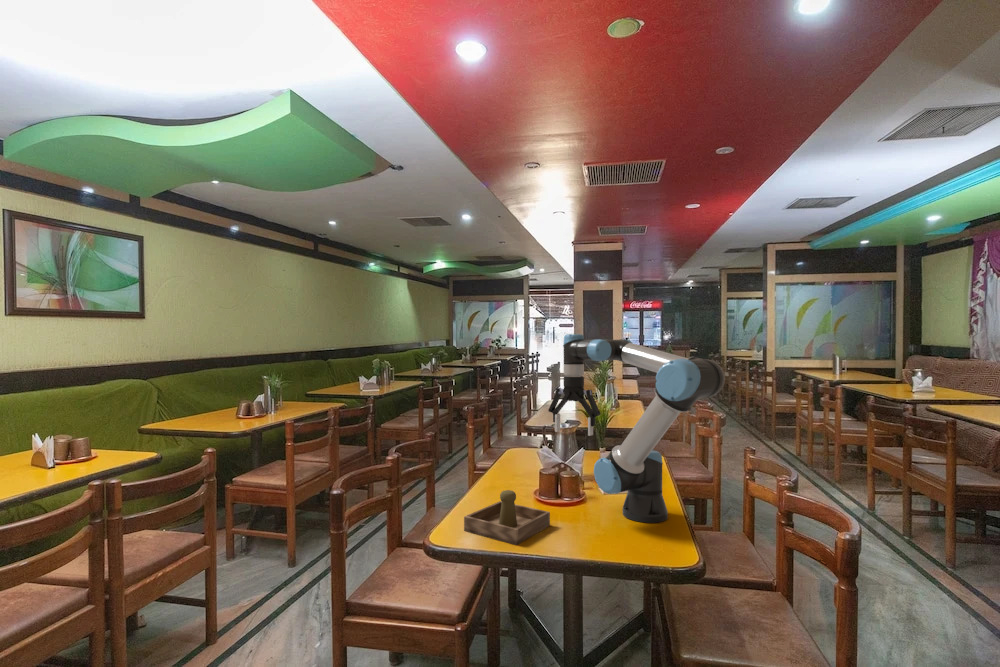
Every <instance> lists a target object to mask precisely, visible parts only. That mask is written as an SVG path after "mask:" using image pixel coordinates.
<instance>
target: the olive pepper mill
mask: <svg viewBox="0 0 1000 667" xmlns="http://www.w3.org/2000/svg"><path fill="white" fill-rule="evenodd" d="M499 494H500V495H499V498H500V501H502V504H501V511H500V519H499V524H500V525H504V526H508V527H512V528H515V527H517V519H516V511H515V504H516V503H515V501H516V500H517V494H516V492H515V491H514V490H510V489H506V490H503V491H501V493H499Z"/></svg>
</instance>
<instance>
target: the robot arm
mask: <svg viewBox="0 0 1000 667" xmlns="http://www.w3.org/2000/svg"><path fill="white" fill-rule="evenodd" d="M562 347H563V375H564V376H563V388H562V387H557V388H555V394H554V396H553V398H552V400H551V403H550V406H549V408H548V412H549V413H552V421H553V423H554V432H555V433H558V432H561V413H560V411H561V410H562V409H563V408H564V406H565V405H566V403H567V402H578V403H579V404H580V405H581V406H582V407H583V408H584V410H585V412H586V413H587V414H588V416H589V417H587V436H589V437H592V436H593V435H594V427H595V426H596V418H597V417H599V416H601V411H600V410H599V407H598V404H597V401H596V400H595V398H594V396H593V390H592V389H585V377H584V376H583V375H585V361H594V362H603V361H604V362H605V361H618V362H621V363H625V364H628V365H631V366H635V367H638V368H641V369H643V370H648V371H650V372H653V373H656V375H655V380H656V382H655V387H654V393H655V397H654V398H653V399H652V400H651V402H650V403H649V404H648V406H647V408H646V409H645V410H644V412H643V413H642V415H641V416H640V418H639V419H638V421H637V422H636V423H635V425H634V426H633V428H632V429H631V430H630V432H629V433H628V434H627V436H626V438H625V439H624V440H623V442H622V443H621V444H618V445H615V446H614V447H612V448H611V451H610V452H609V453H608V455H607V456H606V457H601V458H598V459H597V460H596V462H595V463H594V465H593V466H594V467H593V474H594V480H595V482H596V484H597V486H598V487H599V488H600V490H601V491H603V492H604V493H605V494H610V495H613V494H615V495H616V494H620V493H623V492H627V493H626V496H625V499H624V501H623V502H624V503H623V505H622V515H623V517H625V518H627V519H628V520H631V521H635V522H640V523H648V524H649V523H650V524H651V523H653V524H655V523H662V522H665V521H666V520H668V518H669V517H668V516H669V513H668V512H669V511H668V509H667V505H666V503H665V498H664V496H663V457H662V456H663V455H662V453H661V452H659V451H658V450H655V449H654V448H656V446H657V445H658V443H659V442H660V440H662V438H663V437H664V436H665V434H666V432H668V429H669V428H670V427H671V426H672V425H673V423H674V422H675V421H676V420H677V418H678V416H680V414H681V413H687V412H689V411H690V410H691V408H692V407H693V406H694V405H695V404H696V402H697V401H698V400H699V399H704V398H707V399H708V398H711V397H714V396H716V395H718V393H719V392H721V390H722V389H723V388H724V385H725V382H726V381H725V380H726V379H725V378H726V377H725V376H726V375H725V372H724V370H723V368H722V367H721V366H720V364H718V363H717V362H716V361H714V360H712V359H706V358H705V359H704V358H700V357H697V356H690V357H688V358H687V357H684V356H680V355H677V354H673V353H670V352H666V351H663V350H659V349H655V348H651V347H647V346H644V345H640V344H636V343H633V342H632V341H631V340H629V339H602V338H601V339H600V338H596V339H585V336H584V334H582V333H581V334H580V333H576V334H575V333H573V334H572V333H571V334H568V333H567V334H564V336H563V345H562ZM562 394H564V396H563V397H562V399H561V400H560V398H561V396H562ZM584 395H585V396H586V398H587V399H586V398H585V397H584ZM586 400H587V401H586Z"/></svg>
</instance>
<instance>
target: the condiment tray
mask: <svg viewBox="0 0 1000 667" xmlns="http://www.w3.org/2000/svg"><path fill="white" fill-rule="evenodd" d="M501 504H502V501H501V500H500V501H498V502H494V503H492V504H490V505H488V506H486V507H483V508H481V509H479V510H477V511H473V512H471V513H470V514H467V515H465V516H464V517H463V531H464V532H468V533H470V534H474V535H478V536H481V537H485V538H488V539H491V540H496V541H498V542H499V541H500V542H503V543H507V544H509V545H510V544H511V545H514V546H517V545H520V544H521V543H523V542H525V541H526V540H528V539H530V538H531V537H533V536H535V535H536V534H538V533H540V532H541V531H544V530H545V529H547V528H548V527H550V526H551V512H550V511H546V510H542V509H538V508H535V507H529V506H524V505H520V504H516V503H515V511H516V519H517V527H515V528H512V527H508V526H504V525H500V524H499V519H500V511H501Z"/></svg>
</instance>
